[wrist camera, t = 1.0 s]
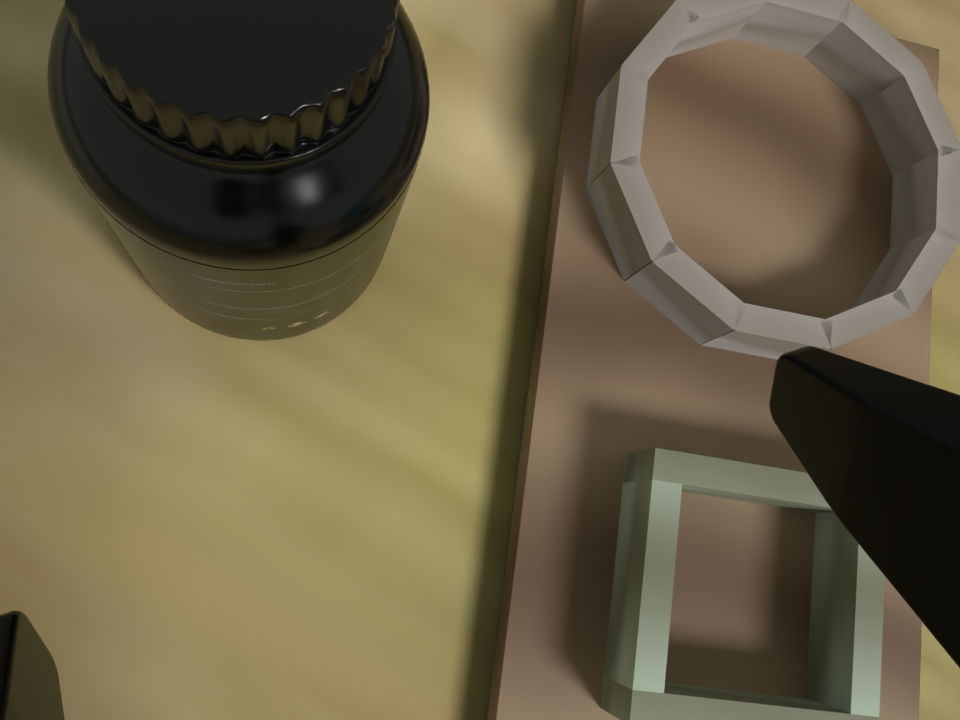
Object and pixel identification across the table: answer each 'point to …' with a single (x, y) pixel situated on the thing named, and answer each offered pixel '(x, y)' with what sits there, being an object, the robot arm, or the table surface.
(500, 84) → the table surface
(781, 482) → the socket board
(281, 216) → the supplement bottle
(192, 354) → the table surface
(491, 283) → the table surface
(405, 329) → the table surface
